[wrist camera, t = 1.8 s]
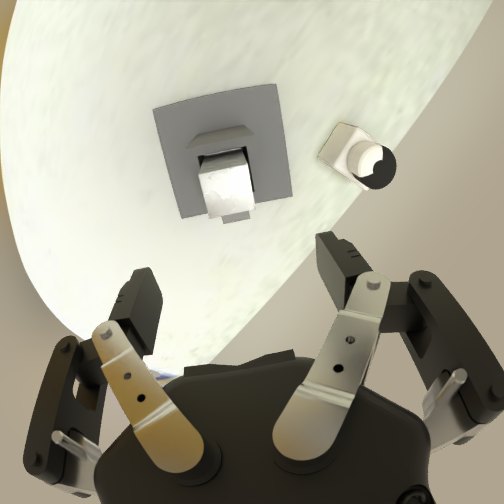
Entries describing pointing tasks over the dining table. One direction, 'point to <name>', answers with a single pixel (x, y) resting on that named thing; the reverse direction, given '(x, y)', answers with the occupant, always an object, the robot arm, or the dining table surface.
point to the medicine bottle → (359, 157)
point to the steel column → (226, 183)
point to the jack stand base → (225, 143)
